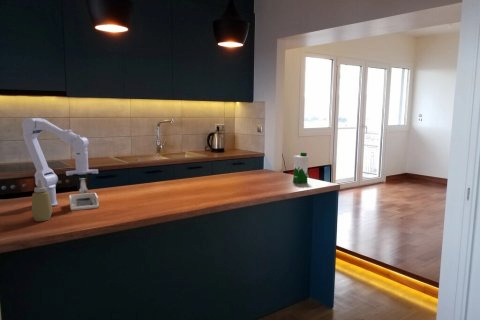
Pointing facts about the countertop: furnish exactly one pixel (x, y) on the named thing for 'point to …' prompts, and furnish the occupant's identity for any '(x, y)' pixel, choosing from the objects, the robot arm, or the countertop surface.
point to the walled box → (88, 195)
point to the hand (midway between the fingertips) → (83, 188)
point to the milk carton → (300, 168)
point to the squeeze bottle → (41, 203)
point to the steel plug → (83, 185)
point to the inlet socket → (83, 202)
